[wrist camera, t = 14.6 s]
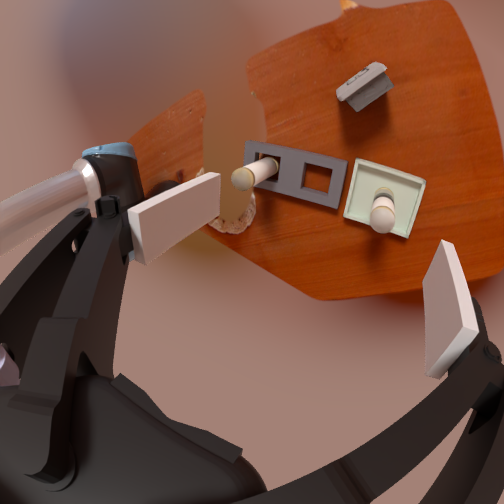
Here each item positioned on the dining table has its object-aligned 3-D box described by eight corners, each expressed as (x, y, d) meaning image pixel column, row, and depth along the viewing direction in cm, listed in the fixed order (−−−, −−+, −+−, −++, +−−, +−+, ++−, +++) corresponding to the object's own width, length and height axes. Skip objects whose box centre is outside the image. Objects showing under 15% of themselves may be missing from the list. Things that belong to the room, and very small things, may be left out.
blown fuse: (376, 184, 44) (373, 204, 35) (396, 190, 43) (398, 213, 34) (371, 203, 46) (366, 228, 37) (390, 209, 45) (390, 236, 36)
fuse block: (246, 181, 57) (242, 183, 56) (250, 140, 52) (245, 141, 51) (339, 205, 50) (337, 209, 49) (348, 161, 45) (347, 163, 44)
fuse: (261, 172, 55) (230, 188, 45) (262, 154, 53) (232, 166, 43) (278, 176, 53) (250, 193, 44) (280, 158, 51) (252, 171, 42)
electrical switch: (374, 61, 34) (375, 54, 27) (393, 84, 35) (399, 82, 28) (335, 90, 40) (328, 89, 33) (354, 112, 41) (351, 116, 34)
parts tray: (344, 212, 50) (343, 216, 49) (356, 157, 44) (355, 159, 43) (407, 233, 46) (407, 238, 44) (424, 179, 40) (426, 182, 38)
